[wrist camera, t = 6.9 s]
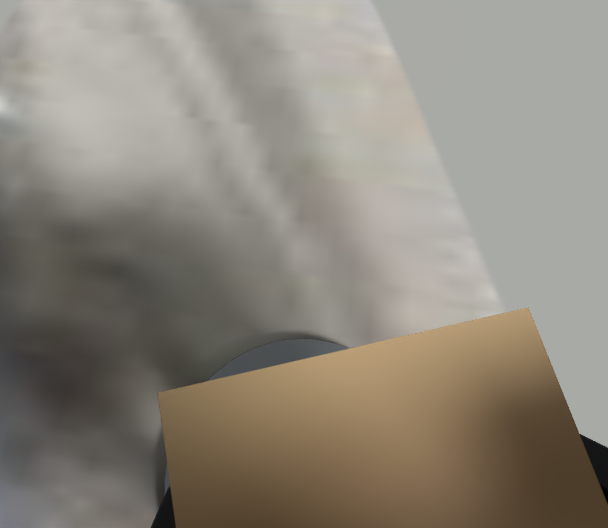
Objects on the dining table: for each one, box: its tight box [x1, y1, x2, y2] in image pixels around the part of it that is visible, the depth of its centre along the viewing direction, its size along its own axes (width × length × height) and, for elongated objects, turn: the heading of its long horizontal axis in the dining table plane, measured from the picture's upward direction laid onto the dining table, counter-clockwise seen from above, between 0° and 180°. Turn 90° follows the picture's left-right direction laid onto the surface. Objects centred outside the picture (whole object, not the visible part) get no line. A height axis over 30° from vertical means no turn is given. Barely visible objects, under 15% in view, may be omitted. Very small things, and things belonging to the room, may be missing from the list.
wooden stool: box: [158, 308, 608, 528], centre depth 11 cm, size 6×6×10 cm
